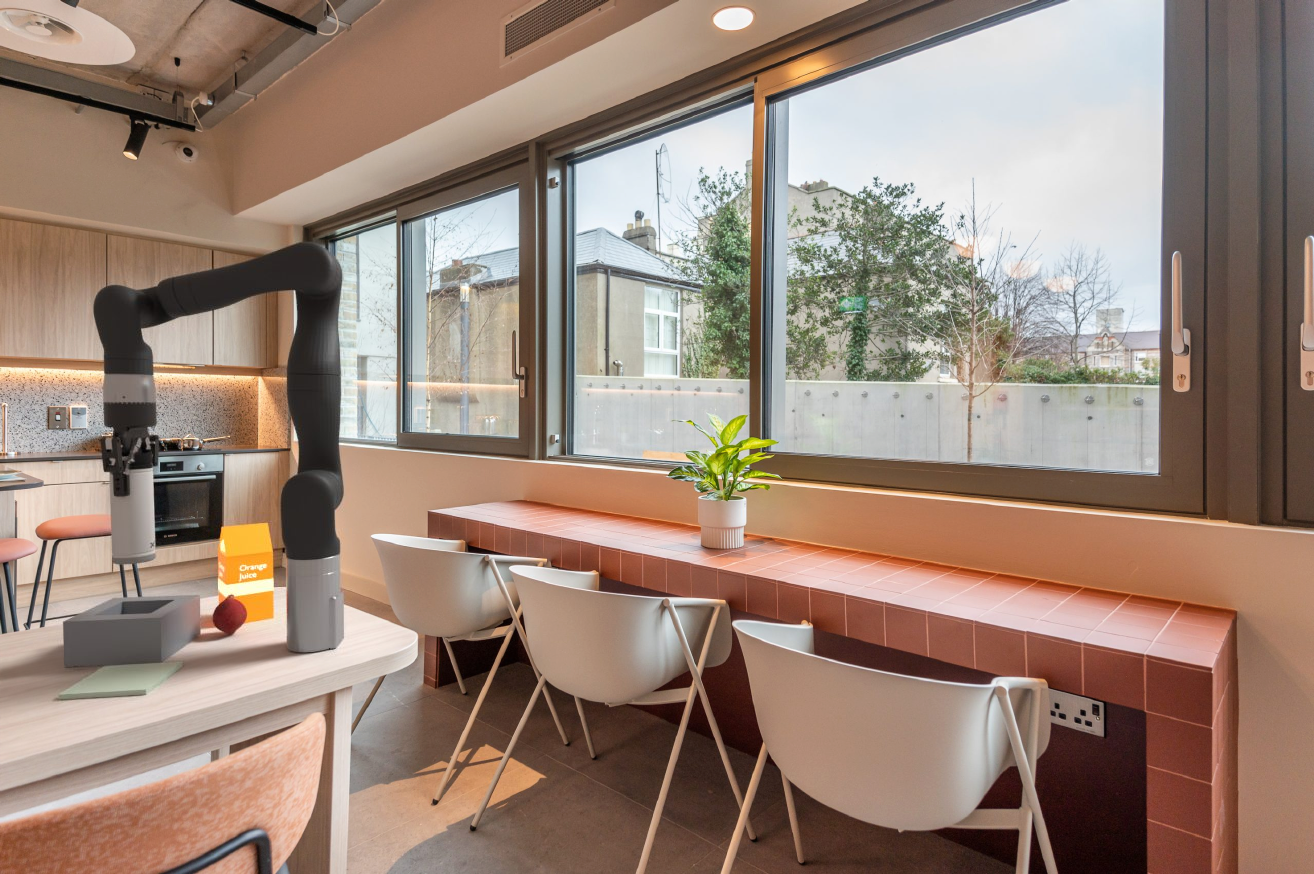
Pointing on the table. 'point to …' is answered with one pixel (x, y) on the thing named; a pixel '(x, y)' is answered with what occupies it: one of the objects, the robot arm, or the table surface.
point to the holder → (131, 630)
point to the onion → (229, 615)
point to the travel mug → (134, 515)
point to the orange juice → (247, 569)
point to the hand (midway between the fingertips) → (133, 493)
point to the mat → (122, 680)
